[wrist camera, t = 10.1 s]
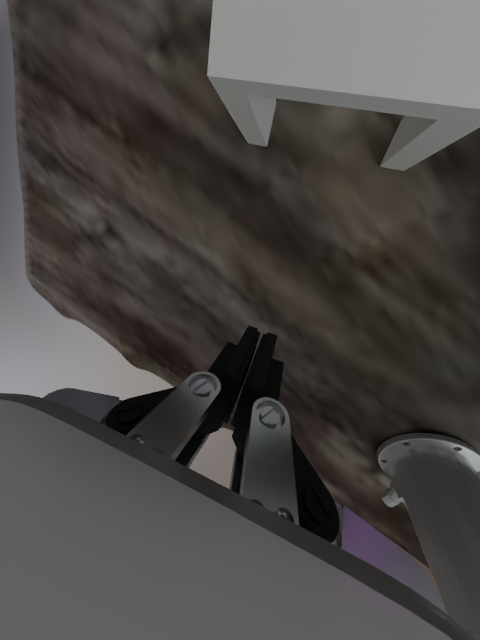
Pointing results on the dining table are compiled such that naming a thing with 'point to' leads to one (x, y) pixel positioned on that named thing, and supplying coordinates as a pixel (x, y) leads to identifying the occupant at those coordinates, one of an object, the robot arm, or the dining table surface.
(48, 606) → the robot arm
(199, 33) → the dining table surface
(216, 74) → the bridge
